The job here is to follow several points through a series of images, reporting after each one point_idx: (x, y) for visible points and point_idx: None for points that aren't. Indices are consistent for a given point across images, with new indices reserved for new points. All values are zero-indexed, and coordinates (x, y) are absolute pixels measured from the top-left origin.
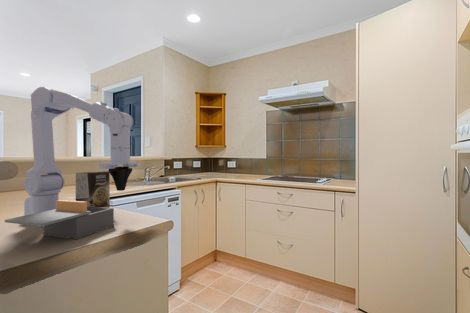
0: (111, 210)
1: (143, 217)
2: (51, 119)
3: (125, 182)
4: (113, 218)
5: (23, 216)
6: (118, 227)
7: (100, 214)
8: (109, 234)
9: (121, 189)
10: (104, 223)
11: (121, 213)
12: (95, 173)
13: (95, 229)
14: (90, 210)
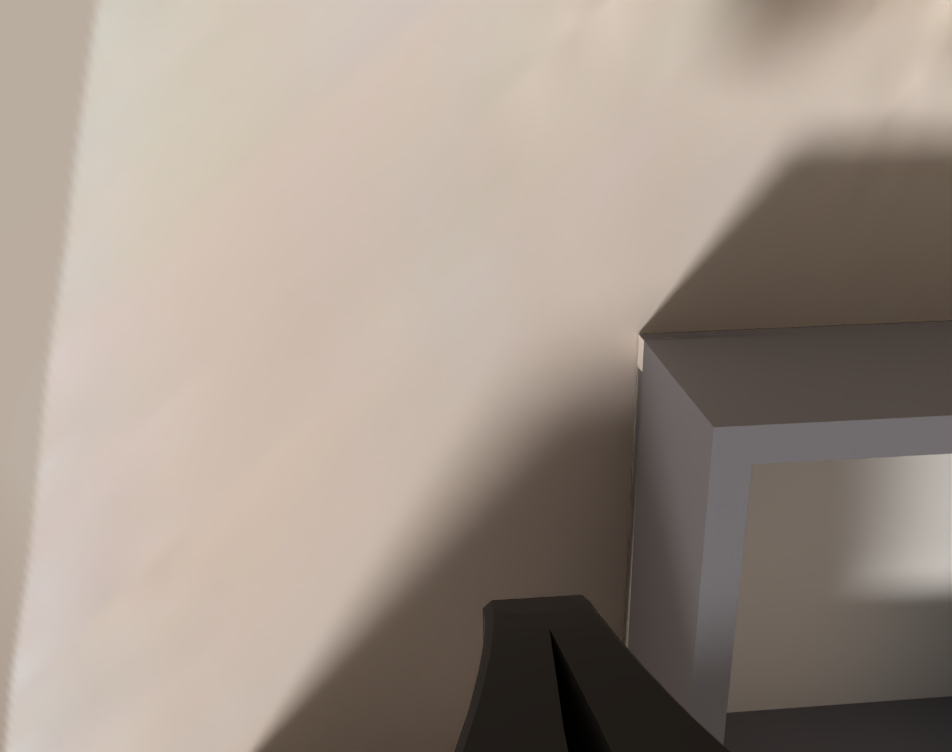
0: (747, 413)
1: (155, 269)
2: None
3: (530, 705)
4: (670, 366)
5: None
6: (671, 230)
7: (935, 400)
8: (930, 111)
9: (594, 617)
10: (803, 353)
11: (119, 708)
12: None
13: (917, 332)
14: None
